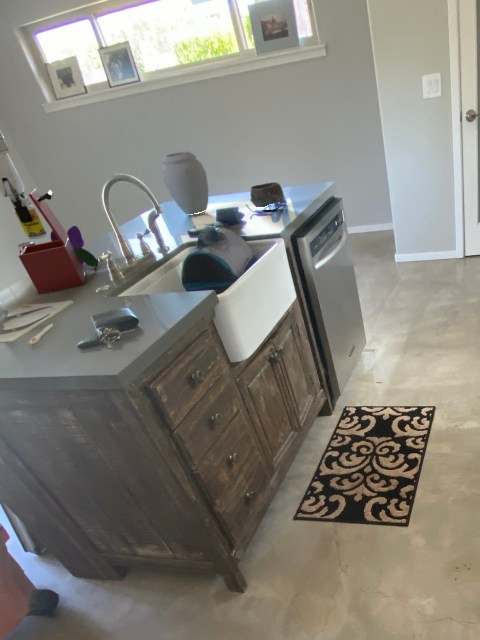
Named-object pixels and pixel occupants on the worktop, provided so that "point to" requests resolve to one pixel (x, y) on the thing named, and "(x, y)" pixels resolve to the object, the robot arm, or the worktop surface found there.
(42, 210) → the lid
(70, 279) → the red hollow box
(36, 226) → the supplement bottle
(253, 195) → the bowl
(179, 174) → the vase
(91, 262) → the flower
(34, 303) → the worktop surface
